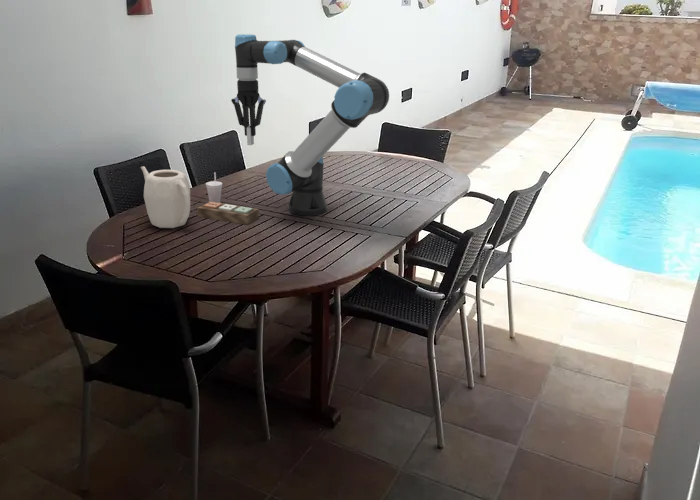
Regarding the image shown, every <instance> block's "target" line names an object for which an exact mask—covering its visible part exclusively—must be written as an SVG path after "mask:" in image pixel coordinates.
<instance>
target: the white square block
mask: <svg viewBox="0 0 700 500" xmlns="http://www.w3.org/2000/svg"><path fill="white" fill-rule="evenodd" d="M224 204H225V205H223V206H221V207H219V210H224V211H230V212H231V211H233V210H235V209H237V206H238V205H236V206H235V204H230V203H224ZM229 204H230V205H229Z"/></svg>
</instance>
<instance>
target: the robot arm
mask: <svg viewBox="0 0 700 500" xmlns="http://www.w3.org/2000/svg"><path fill="white" fill-rule="evenodd" d="M234 40H235V41H234V50H235V51H234V52H235V60H236V61H235V62H236V65H235V66H236V67H235V68H236V78H237V81H236V83H237V87H236V88H237V94H236V96H235V97H234V98H231V101H230V102H231V103H232V104H233V107H234V110H235V114H236V116H237V117H236V118H237V122H238V124H239V125H240V126H243V128H244V130H243V131H244V135H245V136H246V143H247V146H252V145H254V144H255V140H254V137H255V136H256V127H257V126H260V125H261V122H262V115H263V110H264V106H265V104H266V102H267V99H263V98H262V97H261V95H260V93H259V81H258V78H259V72H258V71H259V70H258V64H268V65H269V64H270V65H282V64H283V63H289V64H291V65H293V66H296V67H297V68H299V69H301V70H303V71H306V72H308V73H309V74H311V75H313V76H316V77H317V78H319V79H321V80H322V81H325V82H326V83H328V84H331V85H333V86H335V87H336V88H338V89H337V90H336V92H335V93H334V100H333V101H332V102H331V105H330V108H331V110H330V111H329V112H328V113H327V115H325V116H324V118H323V119H322V120H321V121H320V122H319V123H318V124H317V125H316V126H315V128H314V129H312V131H311V132H310V133H309V134H308V135H307V136H306V137H305V138H304V140H303V141H302V142H301V143H300V144H299V145H298V146H297V147H296V148H295V150H293V151H292V150H291V151H287V152H286V153H285V155H283V157H281V159H279V161H278V162H275V163H274V162H273V163H272V164H271V165H269V166H268V168H267V169H266V173H265V177H266V182H267V185H268V187H269V188H270V190H272V192H274V193H275V194H277V195H281V196H284V195H289V194H290V193H291V195H290V199H289V202H288V205H287V207H288V212H289V213H292V214H294V215H298V216H305V217H306V216H307V217H308V216H311V215H313V216H320V215H322V214H325V213H326V212H327V211H326V210H327V209H328V208H327V205H328V204H327V201H326V199H325V194H324V192H323V191H324V190H323V188H324V187H323V185H324V184H323V183H324V165H325V163H324V156H325V154H326V153H327V152H328V151H329V150H330V149H331V148H332V147H333V146H334V145H335V144H336V143H337V142H339V140H340V139H341V138H342V137H343V136H344V135H345V133H347V132H348V131H349V130H350V129H351V128H353V129H356V128H358V126H359V125H361V123H362V122H364V121H365V119H366V118H367V117H369V116H370V115H375V114H378V113H381V112H382V111H383V110H384V109H385V108H386V107H387V105H388V104H389V100H390V91H389V89H388V86H387V85H386V83H385V82H384V81H383V80H381V79H380V78H378V77H375V76H373V75H371V74H369V73H366V72H361V73H360V72H358V71H356V70H353V69H351V68H349V67H347V66H345V65H343V64H341V63H339V62H337V61H335V60H333V59H331V58H329V57H326V56H324V55H323V54H320V53H319V52H316V51H314V50H312V49H310V48H308V47H306V46H305V45H304V43H303V42H302V41H301V40H298V39H286V40H257V35H255V34H251V33H249V34H246V33H241V34H236V35H235V37H234ZM240 103H241V105H240ZM257 103H258V105H257V109H256V104H257ZM319 214H320V215H319ZM311 217H312V216H311Z"/></svg>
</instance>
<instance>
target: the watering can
mask: <svg viewBox="0 0 700 500" xmlns="http://www.w3.org/2000/svg"><path fill="white" fill-rule="evenodd" d="M140 169H141V172H142V173H143V177H144V187H143V199H144V203H145V208H146V211H147V215H148V219H149V221H150V223H151V225H152V226H155V227H158V228H159V229H175V228H178V227H182V226H185V225H186V223H187V221H188V218H189V216H190V212H191V188H190V182H189V180H188V178H187V175H186V174H185V173H184V172H182V171H180V170H176V169H159V170H153V171H151V172H149V171H148V170H147V168H146V167H145V166H140Z"/></svg>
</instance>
